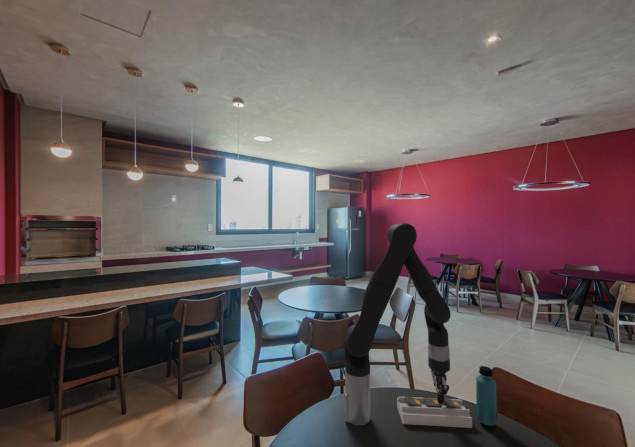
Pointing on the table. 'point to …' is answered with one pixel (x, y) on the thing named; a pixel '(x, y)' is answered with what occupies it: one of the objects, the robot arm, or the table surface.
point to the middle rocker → (432, 403)
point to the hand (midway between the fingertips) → (440, 402)
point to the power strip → (434, 414)
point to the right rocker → (451, 403)
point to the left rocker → (413, 401)
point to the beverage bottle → (486, 397)
